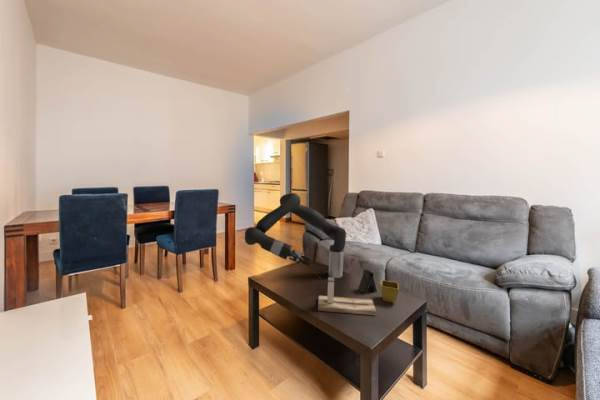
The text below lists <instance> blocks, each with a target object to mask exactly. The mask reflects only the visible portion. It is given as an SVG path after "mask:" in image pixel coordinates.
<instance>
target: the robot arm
mask: <svg viewBox="0 0 600 400" xmlns="http://www.w3.org/2000/svg"><path fill="white" fill-rule="evenodd" d="M279 203H280V205H279V206H278V207H276V208H275V209H273V210H272V211H270V212H268V213H267V214H265V215H264V216H263V217H262V218H261V219H260V220H259V221H258V222H256V225H255V227H252V226H251V227H248V228H246V229H245V231H244V241H245V244H247V245H250V246H253V245H255V244H257V245H259V247H260V248H261V249H262V250H265V251H267V252H269V253H271V254H273V255H274V256H277V257H279V258H281V259H282V260H287V259H289V260H290V261H293V262H294V263H297V264H298V265H300V264H303V265H304V266H307V267H309V266H310V264H311V258H310V257H309V256H306V255H304V253H302V252H300V251H297V250H295V249H292V245H291V244H288V243H286V242H283V241H281V240H278V239H276V238H274V237H271V236H268V235H267V234H266V233H267V232H269V230H270V229H272V228H273V226H275V225H276V224H277V223H278V222H279V221H280V220H282V218H284V217H285V216H286V215H288V214H289V213H292V214H294V215H296V216H298V218H300V219H301V220H303V221H304V222H306V223H307V224H308V225H310V226H311V227H312V228H313V227H314V228H316V229H317V230H319V231H321V232H322V233H323V234H325V235H326V236H327V237H328V238H330V239H331V240H332V241H333V244H331V245H330V246H329V257H328V259H329V261H328V277H334V279H340V278H342V277H343V272H344V271H343V270H344V269H343V267H344V251H345V250H344V249H345V246H346V240H347V239H346V238H347V233H346V229H345V228H343V227H342V226H341V227H340V226H338V225H334V224H332V223H330V222H329V221H327V220H326V218H325V217H324V215H323V214H321V213H320V212H318V211H317V210H316V209H313V208H311V207H309V206H305V205H302V204H301V197H300V195H298V193H296V192H295V193H294V192H291V193H286V194H283V195H282V196H280V198H279Z"/></svg>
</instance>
